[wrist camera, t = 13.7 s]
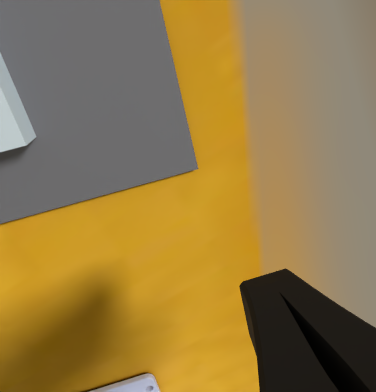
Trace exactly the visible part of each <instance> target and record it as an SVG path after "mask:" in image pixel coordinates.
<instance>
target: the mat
mask: <svg viewBox="0 0 376 392" xmlns="http://www.w3.org/2000/svg"><path fill="white" fill-rule="evenodd" d="M0 53H1V55H2V58H3V60H4V62H5V65H6V67H7V69H8V72H9V74H10V76H11V79H12V81H13V83H14V86H15V88H16V90H17V93H18V95H19V97H20V99H21V102H22V104H23V106H24V109H25V111H26V113H27V116H28V118H29V120H30V123H31V125H32V127H33V130H34V132H35V134H36V138H35V139H33V140H32V141H31V142H30V143H29V144H28V145H26V146H22V147H19V148H15V149H11V150H7V151H3V152H0V224H1V223H5V222H9V221H12V220H16V219H19V218H23V217H27V216H30V215H34V214H37V213H41V212H45V211H48V210H52V209H55V208H59V207H63V206H66V205H70V204H73V203H77V202H81V201H84V200H88V199H91V198H95V197H99V196H102V195H106V194H109V193H113V192H117V191H120V190H124V189H128V188H131V187H135V186H138V185H142V184H146V183H149V182H153V181H156V180H160V179H164V178H167V177H171V176H174V175H178V174H182V173H185V172H189V171H192V170H196V169H198V166H197V162H196V158H195V153H194V149H193V145H192V140H191V136H190V132H189V127H188V123H187V119H186V114H185V110H184V106H183V101H182V97H181V93H180V88H179V84H178V79H177V75H176V71H175V66H174V62H173V58H172V53H171V49H170V45H169V40H168V36H167V32H166V27H165V23H164V19H163V14H162V10H161V6H160V1H159V0H0Z"/></svg>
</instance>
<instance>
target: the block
mask: <svg viewBox="0 0 376 392" xmlns="http://www.w3.org/2000/svg"><path fill="white" fill-rule="evenodd" d="M35 138H36V134H35V132H34V130H33V127H32V125H31V123H30V120H29V118H28V116H27V113H26V111H25V109H24V106H23V104H22V102H21V99H20V97H19V95H18V93H17V90H16V88H15V86H14V83H13V81H12V79H11V76H10V74H9V72H8V69H7V67H6V65H5V62H4V60H3V58H2V55H1V53H0V152H3V151H7V150H11V149H15V148H19V147H22V146H26V145H28V144H29V143H30V142H31V141H32V140H33V139H35Z"/></svg>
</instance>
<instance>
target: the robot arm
mask: <svg viewBox="0 0 376 392" xmlns="http://www.w3.org/2000/svg"><path fill="white" fill-rule="evenodd" d="M240 291H241V296H242V301H243V306H244V311H245V315H246V320H247V325H248V330H249V335H250V337H251V340H252V343H253V346H254V349H255V352H256V356H257V363H258V375H259V387H260V392H376V328H375V327H373V326H371V325H370V324H368V323H367V322H365V321H363V320H362V319H360V318H359V317H357V316H355V315H354V314H352V313H351V312H349V311H348V310H346V309H345V308H343V307H341V306H340V305H338V304H337V303H335V302H334V301H332V300H331V299H329V298H328V297H326V296H325V295H323V294H322V293H321V292H319V291H318V290H316V289H314V288H313V287H312V286H310V285H309V284H308V283H306V282H305V281H303V280H302V279H301V278H299V277H298V276H296V275H295V274H294V273H292V272H291V271H289V270H287V269H283V270H280V271H276V272H273V273H269V274H266V275H263V276H260V277H256V278H253V279H250V280H246V281H243V282H242V283H241V285H240ZM89 392H160V389H159V387H158V384H157V382H156V379H155V377H154V375H152V374H149V373H147V374H143V375H140V376H137V377H134V378H130V379H127V380H124V381H121V382H118V383H115V384H111V385H108V386H105V387H102V388H99V389H95V390H92V391H89Z"/></svg>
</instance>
